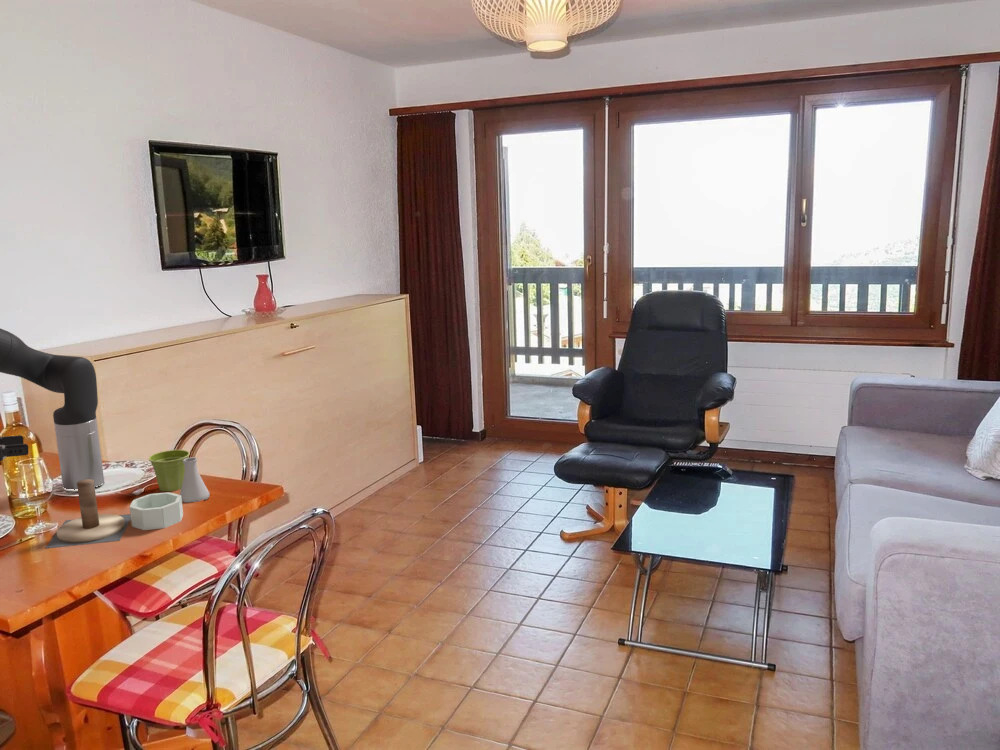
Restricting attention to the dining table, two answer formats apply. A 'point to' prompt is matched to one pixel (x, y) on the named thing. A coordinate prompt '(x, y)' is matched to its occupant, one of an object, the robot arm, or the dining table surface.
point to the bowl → (156, 511)
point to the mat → (116, 537)
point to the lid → (89, 519)
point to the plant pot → (169, 468)
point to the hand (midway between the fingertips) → (25, 444)
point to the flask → (193, 483)
